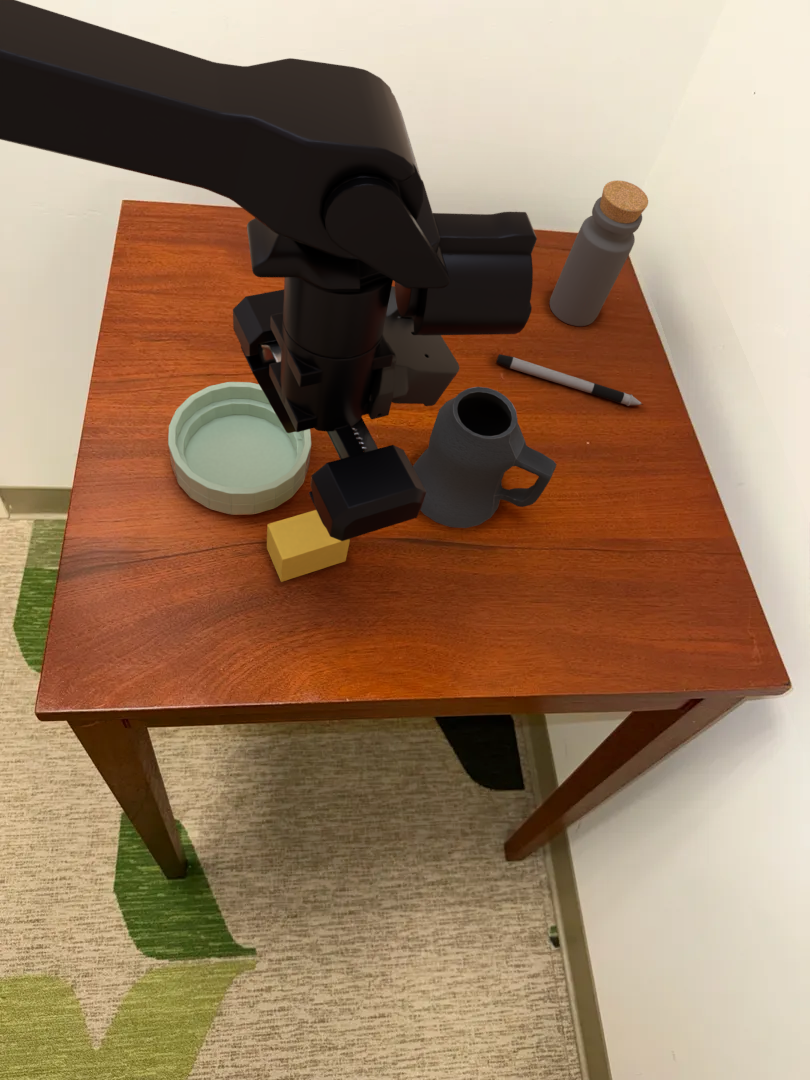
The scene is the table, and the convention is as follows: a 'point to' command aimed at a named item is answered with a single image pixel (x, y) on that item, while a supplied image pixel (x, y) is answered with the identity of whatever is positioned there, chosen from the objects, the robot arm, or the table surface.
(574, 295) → the bottle
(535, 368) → the pen
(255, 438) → the bowl
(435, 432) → the mug
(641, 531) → the table surface
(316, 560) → the sponge
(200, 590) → the table surface
